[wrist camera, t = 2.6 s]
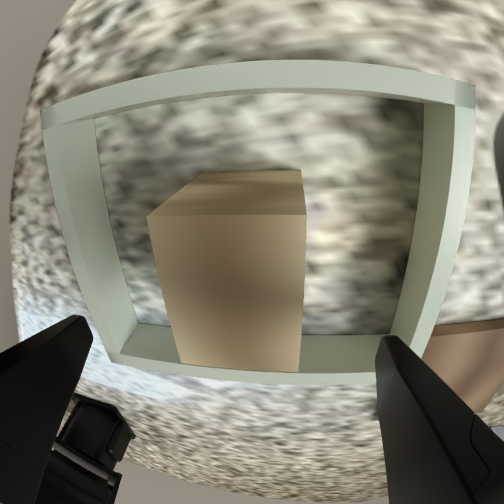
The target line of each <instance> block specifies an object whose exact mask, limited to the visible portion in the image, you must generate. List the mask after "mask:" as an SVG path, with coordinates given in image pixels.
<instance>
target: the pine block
mask: <svg viewBox="0 0 504 504" xmlns="http://www.w3.org/2000/svg"><path fill="white" fill-rule="evenodd" d="M306 216H307V215H306V206H305V198H304V190H303V182H302V174H301V170H254V171H222V172H203V173H201V174H200V175H199V176H197V177H196V178H195V179H193V180H192V181H191V182H189V183H188V184H187V185H185V186H184V187H183V188H181V189H180V190H179V191H178V192H176V193H175V194H174V195H172V196H171V197H170V198H169V199H167V200H166V201H165V202H164V203H162V204H161V205H160V206H159V207H157V208H156V209H155V210H154V211H153V212H151V213H150V214H149V215H148V216H146V218H147V224H148V229H149V234H150V239H151V244H152V249H153V254H154V259H155V263H156V268H157V273H158V277H159V281H160V286H161V290H162V294H163V298H164V302H165V306H166V310H167V314H168V318H169V321H170V325H171V329H172V332H173V336H174V340H175V343H176V347H177V350H178V353H179V357H180V360H181V363H184V364H192V365H201V366H210V367H220V368H232V369H245V370H261V371H283V372H298V370H299V358H300V345H301V331H302V316H303V299H304V279H305V254H306Z"/></svg>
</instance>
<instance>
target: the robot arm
mask: <svg viewBox="0 0 504 504" xmlns="http://www.w3.org/2000/svg"><path fill="white" fill-rule="evenodd" d="M92 342H93V335H92V332H91V330H90V328H89V325H88V323H87V321H86V319H85V317H84V316H81V315H71V316H69V317H67V318H66V319H64V320H62V321H60V322H58V323H56V324H54V325H52V326H50V327H48V328H46V329H45V330H43V331H41V332H39V333H37V334H35V335H33V336H31V337H29V338H28V339H26V340H24V341H22V342H20V343H18V344H16V345H14V346H13V347H11V348H9V349H7V350H6V351H4V352H2V353H0V504H114V502H115V498H116V495H117V491H118V488H119V484H120V481H121V478H122V474H120V473H118V472H117V473H116V472H114V471H113V470H114V467H115V465H116V463H117V461H118V462H120V461H121V460H122V458H123V456H124V453H125V451H126V449H127V446H128V444H129V442H130V439H135V437H136V436H135V434H134V433H133V432H132V430H131V429H130V427H129V426H128V424H127V423H126V421H125V420H124V419H123V417H122V416H121V414H120V413H119V411H118V410H117V409H116V408H115V407H112V406H109V405H106V404H102V403H99V402H96V401H93V400H90V399H87V398H84V397H81V396H78V395H75V394H73V393H74V391H75V388H76V386H77V384H78V381H79V379H80V376H81V374H82V371H83V368H84V365H85V362H86V359H87V356H88V353H89V351H90V348H91V345H92ZM375 373H376V387H377V405H378V416H379V422H380V429H381V435H382V442H383V450H384V457H385V466H386V475H387V484H388V495H389V504H504V441H503V440H502V439H501V438H500V437H499V436H498V435H497V434H495V433H494V432H493V431H492V430H491V429H490V428H489V427H488V426H487V425H486V424H485V423H484V422H483V420H482V419H481V418H480V417H479V416H478V415H477V414H474V411H473V410H472V409H471V408H470V407H469V406H468V405H467V404H466V403H465V402H464V401H463V400H462V399H461V398H460V397H459V396H458V395H457V394H456V393H455V392H454V391H453V390H452V389H451V388H450V387H449V386H448V385H447V384H446V383H445V382H444V381H443V380H442V379H441V378H440V377H439V376H438V375H437V374H436V373H435V372H434V371H433V370H432V369H431V368H430V367H429V366H428V365H427V364H426V363H425V362H424V361H423V360H422V359H421V358H420V357H419V356H418V355H417V354H416V353H415V352H414V351H413V350H412V349H411V348H410V347H409V346H408V345H407V344H405V343H404V342H403V341H402V340H401V339H400V338H399V337H398V336H396V335H384V336H382V338H381V340H380V343H379V347H378V350H377V353H376V357H375ZM71 399H72V400H73V402H74V403H75V405H76V406H75V407H74V409H73V411H72V413H71V414H70V416H69V418H68V419H67V421H66V423H65V425H64V426H63V428H62V430H61V432H60V433H59V435H58V437H57V436H56V435H57V433H58V430H59V427H60V425H61V422H62V420H63V417H64V415H65V412H66V410H67V407H68V405H69V402H70V400H71ZM52 447H53V448H54V451H52V450H51V449H52ZM58 451H59V452H58ZM72 460H73V461H72ZM77 463H78V464H77ZM82 466H83V467H82ZM87 469H88V470H87ZM96 474H97V475H96Z"/></svg>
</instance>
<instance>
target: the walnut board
mask: <svg viewBox="0 0 504 504" xmlns="http://www.w3.org/2000/svg"><path fill="white" fill-rule="evenodd" d="M421 359H422V360H423V361H424V362H425V363H426V364H427V365H428V366H429V367H430V368H431V369H432V370H433V371H434V372H435V373H436V374H437V375H438V376H439V377H440V378H441V379H442V380H443V381H444V382H445V383H446V384H447V385H448V386H449V387H450V388H451V389H452V390H453V391H454V392H455V393H456V394H457V395H458V396H459V397H460V398H461V399H462V400H463V401H464V402H465V403H466V404H467V405H468V406H469V407H470V408H471V409H472V410H473V411H474V413H478V412H482V411H483V409H484V408H485V407H486V406H487V404H488V403H489V402H490V400H491V399H492V397H493V396H494V395H495V393H496V392H497V391H498V389H499V388H500V386H501V385H502V383H503V382H504V319H496V320H488V321H479V322H469V323H459V324H447V325H434V328H433V331H432V333H431V336H430V338H429V341H428V343H427V346H426V348H425V351H424V353H423V355H422V358H421Z"/></svg>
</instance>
